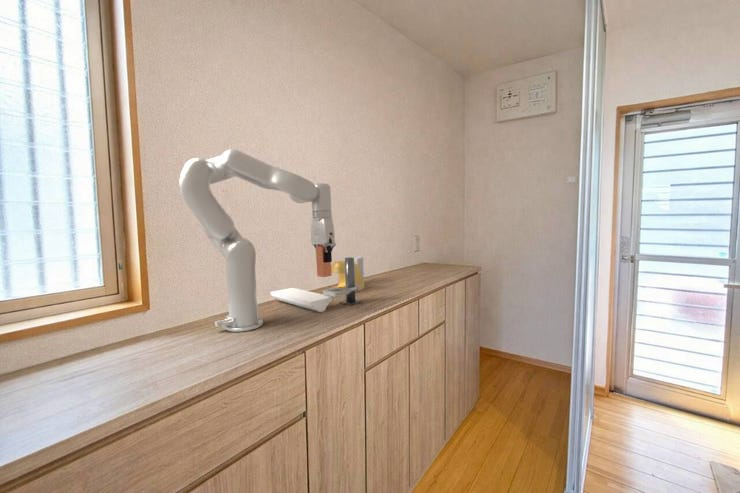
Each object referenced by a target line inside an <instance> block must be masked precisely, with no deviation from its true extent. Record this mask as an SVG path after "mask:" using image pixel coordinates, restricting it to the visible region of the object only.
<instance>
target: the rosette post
mask: <svg viewBox="0 0 740 493" xmlns="http://www.w3.org/2000/svg"><path fill="white" fill-rule="evenodd" d="M353 257H354V256H351V257H344V261H345V277H346V286H344V287H341V288H339V287H336V288H332V287H331V288H328V289H323V290H322V294H323V295H327V296H332V298H333V297H334V298H337V297H342V296H341V295H345V294H346V296H345V298H346V299H344V300H341V301H339V304H341V305H346V306H350V307H351V306H354V305H355V306H356V305H358V304H362V303H363V300H360V299H356V292H355V291H357V290H360V291H362V290H363V289H362V286H361V285H355V273H354V258H353ZM361 289H362V290H361ZM357 292H358V291H357Z"/></svg>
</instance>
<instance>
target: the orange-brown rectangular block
mask: <svg viewBox="0 0 740 493" xmlns="http://www.w3.org/2000/svg"><path fill="white" fill-rule="evenodd" d="M327 248H328V246H327ZM324 252H325V248H324V245H323V246H316V249H315V261H316V274H317V275H316V276H317V277H319V278H327V277H331V276H332V273H331V265H332V262H327V263H325V261H324Z"/></svg>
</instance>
